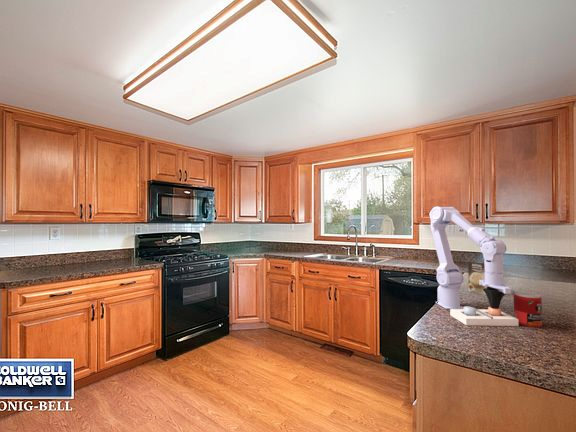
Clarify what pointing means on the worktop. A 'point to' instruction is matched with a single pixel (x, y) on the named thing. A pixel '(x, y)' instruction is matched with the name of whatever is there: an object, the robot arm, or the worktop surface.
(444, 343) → the worktop surface
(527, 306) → the canned food
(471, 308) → the pale blue rounded piece
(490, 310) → the orange rounded piece
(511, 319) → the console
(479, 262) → the coffee box
